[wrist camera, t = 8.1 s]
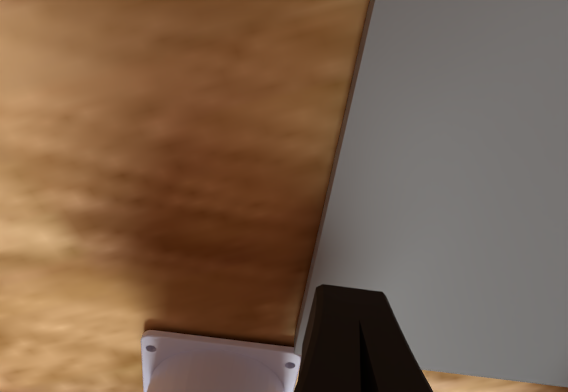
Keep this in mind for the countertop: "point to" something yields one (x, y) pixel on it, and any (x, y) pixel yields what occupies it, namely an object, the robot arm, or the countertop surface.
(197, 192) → the countertop surface
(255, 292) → the countertop surface
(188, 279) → the countertop surface
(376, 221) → the gate board
